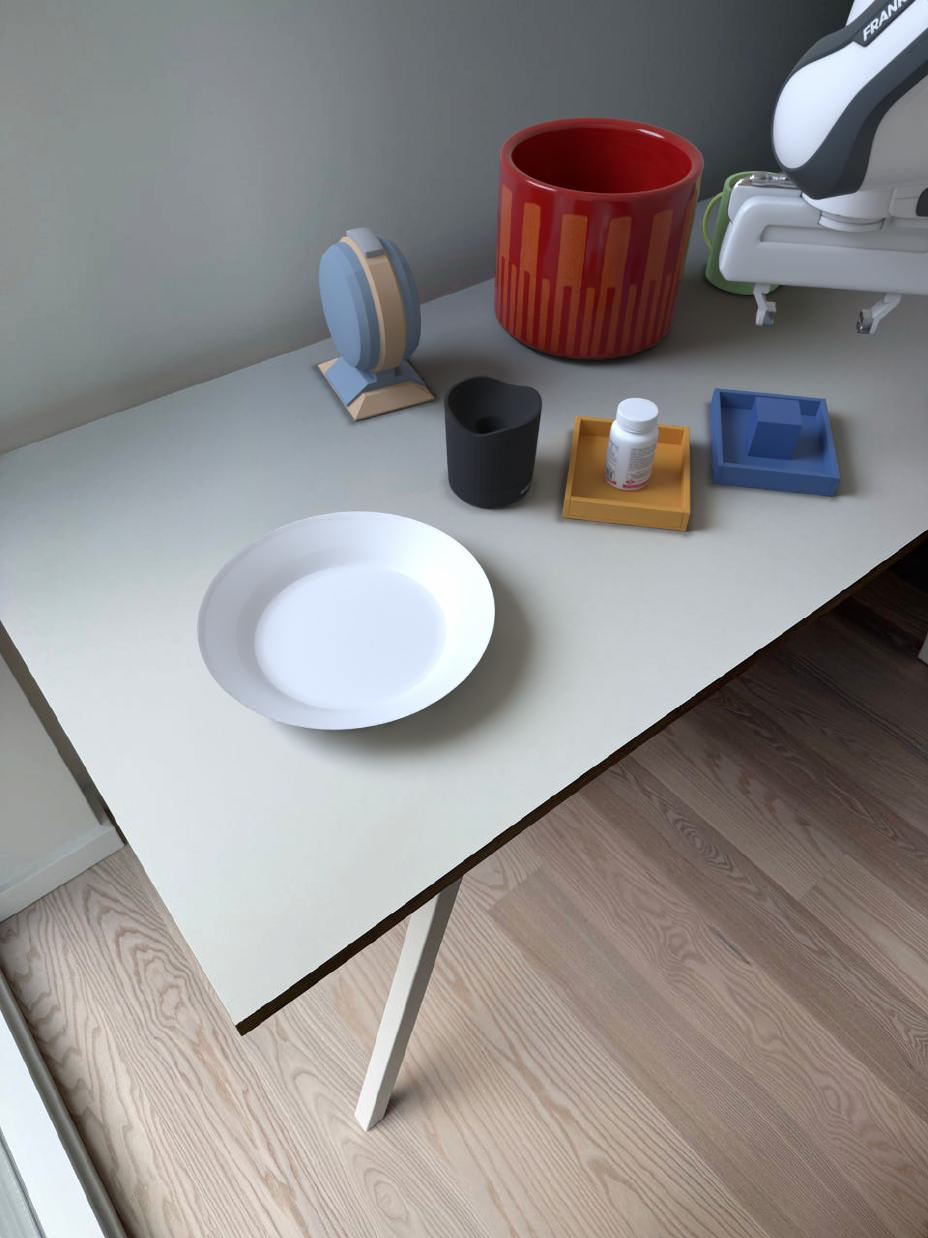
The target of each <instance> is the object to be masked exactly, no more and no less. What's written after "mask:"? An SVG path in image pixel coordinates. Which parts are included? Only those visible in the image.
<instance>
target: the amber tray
mask: <svg viewBox="0 0 928 1238" xmlns="http://www.w3.org/2000/svg"><path fill="white" fill-rule="evenodd" d="M615 420H616V419H613V418H605V417H593V416H585V415H575V420H574V428H573V434H572V442H571V449H570V455H569V463H568V471H567V479H566V484H565V485H566V486H565V493H564V499H563V508H562V518H565V519H573V520H581V521H591V522H601V523H607V524H617V525H626V526H633V527H643V528H652V529H660V530H661V529H662V530H671V531H679V532H687V528H688V525H689V520H690V516H691V437H690V436H691V435H690V434H691V432H690V431H691V428H690V426H684V425H683V426H682V425H673V424H672V425H671V424H663V423H657V426H658V429H659V435H658V440H657V446H656V450H655V456H654V461H653V466H652V471H651V476H650V480H649V482H648V483H647V485H645V486H644V487H643V488H641V489H638V490H634V491H625V490H620V489H617V488H615V487H613V486H611V485H610V484H609V483H608V482H607V481H606V479H605V476H604V469H605V463H606V456H607V449H608V443H609V436H610V430H611V426H612V423H613V422H614V421H615Z"/></svg>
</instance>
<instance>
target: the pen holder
mask: <svg viewBox="0 0 928 1238" xmlns="http://www.w3.org/2000/svg"><path fill="white" fill-rule="evenodd" d="M443 409H444V411H443V412H444V425H445V426H444V430H445V447H446V464H447V478H448V484H449V487H450V489H451V491H452V493H454V495H455V496H456V497H458V499H460V500H461V501H463V502H465V503H466V504H468V505H472V506H474V507H477V508H484V509H498V508H499V509H501V508H504V507H509V506H512V505H513V504H516V503H517V502H519V501H520V500H522V499H523V498H524V497H526V496H527V494H528V493H529V492H530V489H531V487H532V483H533V478H534V472H535V465H536V457H537V450H538V443H539V434H540V428H541V427H540V425H541V420H542V419H541V418H542V411H543V410H542V409H543V399H542V396H541V394H540V392H539V391H538V390H537V389H536V388H534V387H533V386H529V385H523V384H522V385H521V384H520V385H519V384H512V383H508V382H505V381H503V380H501V379H498V378H495V377H493V376H489V375H482V374H479V375H471V376H468V377H465V378H463V379H460V380H458V381H457V382H455V383H454V384H452V385H451V386H450V387H449V388H448V389H447V390H446V392H445V394H444V398H443Z"/></svg>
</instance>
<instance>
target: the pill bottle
mask: <svg viewBox="0 0 928 1238" xmlns="http://www.w3.org/2000/svg"><path fill="white" fill-rule="evenodd" d="M659 414H660V409H659V407H658V406H657V405H656V404H655V403H654V402H653V401H652V400H648V399H646V398H643V397H629V398H626V399H624V400H622V401H621V402H619V404H618V406H617V409H616V416H615V419H614V420H615V421H614V422H613V423H612V426H611V430H610V436H609V443H608V449H607V456H606V463H605V469H604V476H605V479H606V481H607V482H608V483H609V484H610V485H611V486H613V487H615V488H617V489H620V490H625V491H634V490H638V489H641V488H643V487H644V486H645V485H647V483H648V482H649V480H650V476H651V471H652V466H653V461H654V456H655V450H656V446H657V440H658V435H659V429H658V426H657V424H658V421H659V416H660V415H659Z"/></svg>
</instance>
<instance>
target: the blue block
mask: <svg viewBox="0 0 928 1238" xmlns="http://www.w3.org/2000/svg"><path fill="white" fill-rule="evenodd" d="M801 428H802V419H801V413H800V406H799V401H797V400H786V399H776V398H765V397H755V401H754V404H753V407H752V411H751V414H750V418H749V421H748V425H747V428H746V442H747V454H748V456H755V457H765V458H774V459H784V460H791V457H792V454H793V451H794V448H795V446H796V443H797V440H798V437H799V434H800V431H801Z"/></svg>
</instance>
